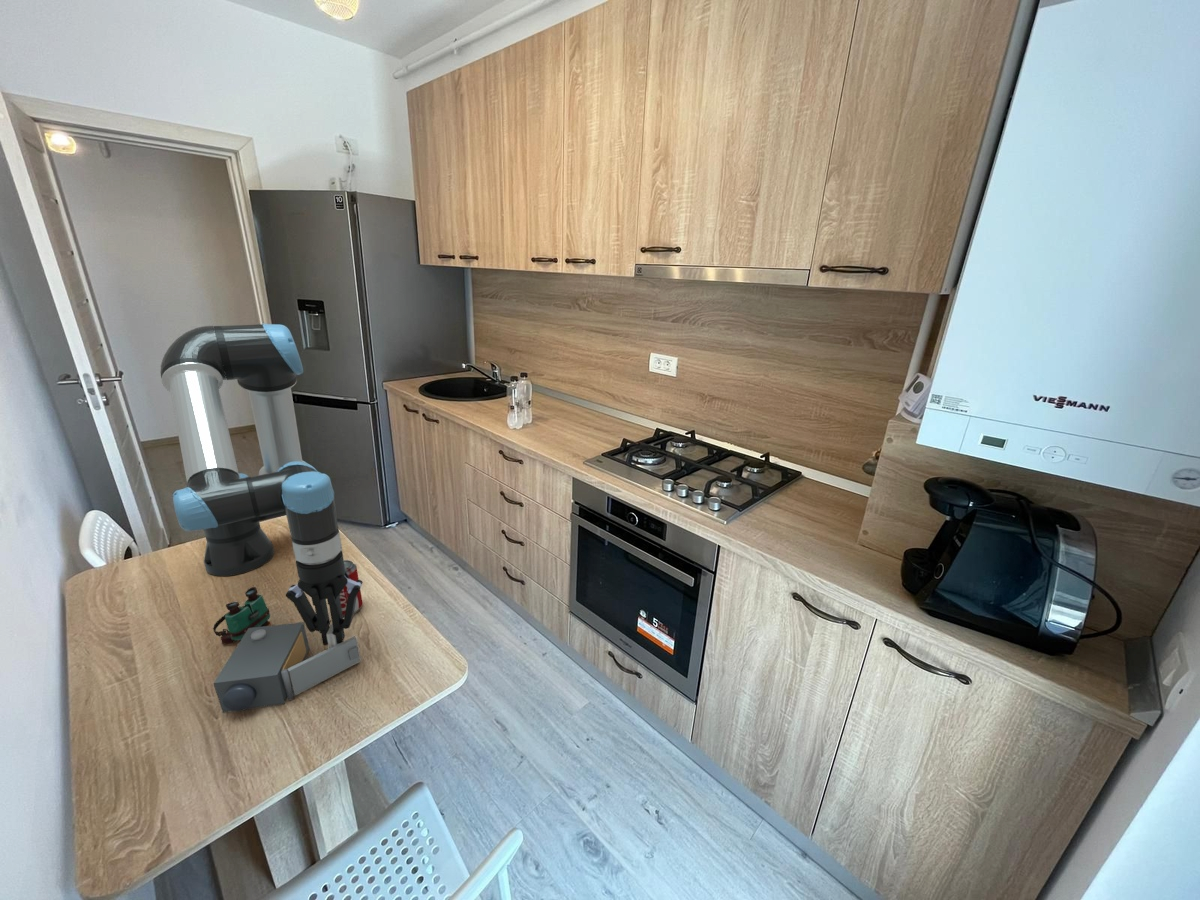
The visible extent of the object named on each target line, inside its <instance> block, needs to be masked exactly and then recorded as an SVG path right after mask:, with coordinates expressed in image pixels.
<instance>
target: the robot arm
mask: <svg viewBox="0 0 1200 900" xmlns="http://www.w3.org/2000/svg"><path fill="white" fill-rule="evenodd" d="M159 372H160V378H161V382H162V386H163V387H164V389H165V390H166V391H168V392H169V393H170V394H171V401H172V407H173V412H174V418H175V423H176V429H177V434H178V441H179V445H180V451H181V456H182V462H183V463H182V464H183V469H184V474H185V478H186V485H187V487H184V488H182V489H178V490H175V491H174V492H173V494H172V502H173V508H174V512H175V516H176V519H177V521H178V524H179V526H180V528H181V529H182V530H183V531H186V532H194V531H195V532H196V531H200V530H203V533H204V537H205V540H206V544H205V545H206V546H205V552H204V557H203V563H204V569H205V570H206V573H208V574H209V575H210V576H211V575H212V576H216V577H228V576H229V577H230V576H236V575H240V574H245V573H247V572H251V571H253V570H255V569H257V568H259V567H262V566H263V565H265V564H266V563H268V562H269V561H270V560H271V559H272V558H273V557H274V555H275V549H274V544H273V542H272V541H271V540H270V538H269V536H267V534H266V533H265V532H264V530H263V529H262V528H261V523H260V522H262V521H266V520H271V519H275V518H280V517H285V516H286V519H287V524H288V528H289V532H290V538H291V539H290V540H291V544H292V549H293V555H294V559H295V565H296V570H297V575H298V576H297V577H298V581H297V584H292V585H291V586H290V587H289V589H288V590H287V592H286V593H285V597H286V598H287V599H288V600H290V602H291V603H292V604H293V605H294V606H295V608H296V610H297V612H298V614H299V615H300V617H301V619H302V620H303V621H302V622H304V625H305V626H306V628H307V630H308V631H309V632H310V633H314V632H319V633H320V635H321V640H322V645H324V646H328V649H329V648H331V647H333V646H335V645H337V644H339V643H341V642H343V641H345V637H346V634H345V629H349V628H350V627H351V624H352V622H353V619H354V615H355V614H354V609H355V603H356V598H357V594H358V592H359V591H360V590H361V587H362V585H363V580H361V579H359V580H357V581H353V580H351V579H349V576H348V574H347V573H346V572H345V566H344V555H343V553H344V552H343V550H342V548H343V547H342V541H341V536H340V535H341V534H340V529H339V525H338V517H337V511H336V510H337V509H336V503H335V491H334V489H333V484H332V482H331V481H332V480H331V477H330V476H329V475H328V474H326V473H322V472H321V471H318V470H317V469H316V468H315V467H314V466H313V465H311V464H309V463H308V462H306V461H304V460H303V456H302V451H301V450H302V449H301V443H300V437H299V431H298V425H297V418H296V413H295V412H296V411H295V406H294V401H293V399H294V398H293V392H292V388H293V387H294V386H295V385H296V384H297V382H298V378H297V376H300V375H301V374H303V373H304V367H303V364H302V359H301V357H300V353H299V351H298V348H297V345H296V343H295V340H294V337H293V335H292V333H291V330H290V329H289V328H288V327H287V326H286V325H284V324H275V323H274V324H273V323H272V324H269V323H268V324H267V323H263V322H262V323H261V324H233V325H230V324H229V325H203V326H199V327H195V328H192V329H190V330H188V331H186V332H184V333H183V334H181V335H180V336H178V337H177V338H176V339H175V340H174V341H173V342H172V343H171V344H170V346H169V347H168V348H167V350H166V352H164V355H163V358H162V359H161V364H160V371H159ZM233 380H237V384H238V386H239V387H240V388H241V389H242V390H245V391H247V392H248V396H249V397H248V398H249V402H250V407H251V410H252V411H251V412H252V416H253V421H254V427H255V429H256V436H257V439H258V443H259V449H260V453H261V458H262V462H263V466H261V468H260V469H259V471H258V474H257V475H253V476H248V475H247V474H245V473H239V468H238V465H237V460H236V456H235V451H234V447H233V444H232V440H231V439H232V438H231V435H230V430H229V427H228V423H227V419H226V417H227V416H226V414H225V408H224V405H223V401H222V398H221V397H222V396H221V392H220V389H221V388H222V386H223V383H224V381H233ZM345 586H347V591H348V593H350V594H349V596H348V599H347V605H346V611H345V616H343V615H342V608H341V602H340V593H341V591H342V590H343V588H344V587H345ZM307 596H308V597H310V598H311V601H312V604H311V602H310V600H309V598H308V597H307ZM328 606H329V609H328ZM313 607H314V608H313ZM329 612H330V615H329ZM330 617H331V619H330Z"/></svg>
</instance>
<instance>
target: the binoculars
mask: <svg viewBox="0 0 1200 900" xmlns="http://www.w3.org/2000/svg"><path fill="white" fill-rule="evenodd" d="M244 595H245V597H247V599H246V600H245V601H244V603H243V604H244V605H241V606H240V603H239V602H238V601H235V602H234V601H233V602H229V603H227V604H226V605H225V607H226V609H227V611H228V612H227V613H225V614H224V615H222V616H220V618H219V619H218V620H217V621H216V622H215V623H214V624H213V628H212V630H213V632H214V634H215V636H218V637H220V641H221V644H223V645H226V644H227V645H228V644H231V643H234V642H237V645H238V644H239V642H240V641H241V639H242V638H243V636H244V634H245V633H246V631H247V630H248V628H254V627H263V626H272V622H271V621H268V620H269V619H270V617H271V612H270V608H269V607H268V606H267V603H266V602H265V599H264V597H263V595H262V594H258V589H257V587H256V586H252V587H250V588H248V589H247V590H246V591H245V592H244ZM223 622H225V623H226V627H227V628H223V629H222V630H221V631H217V628H218V627H219V626H220V625H221V624H222V623H223Z"/></svg>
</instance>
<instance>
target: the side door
mask: <svg viewBox="0 0 1200 900" xmlns="http://www.w3.org/2000/svg"><path fill="white" fill-rule="evenodd" d="M361 661H362V660H361V655H360V650H359V643H358V637H356V635H354V636H351V637H350V638H347V639H346V640H345V639H344V640H343V642H341V643H339V644H337V645H335V646H333V647H331V648H329V647H328V648H327V649H325V650H323V651H320V652H318V653H317V654H314V655H313V656H311V657H308V658H305V660H304V661H302V662H300V663H298V664H296V665H294V666H292V667H290V668H288V670H287V669H283V670H282V671H281V674H282V678H283V682H284V685H285V689H286V693H287V700H288V701H292V700H294V698H295V696H297V695H299V694H301V693H303V692H305V691H307V690H309V689H311V688H313V687H314V686H317V685H319V684H320V683H322V682H324V681H326V680H328V679H329V678H332V677H333V676H335V675H337V674H339V673H341V672H343V671H345V670H347V669H348V668H351V667H352V666H354V665H357V664H358V663H360V662H361ZM288 673H289V674H288ZM289 677H290V678H289ZM290 681H291V682H290ZM291 685H292V686H291Z"/></svg>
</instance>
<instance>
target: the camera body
mask: <svg viewBox="0 0 1200 900" xmlns="http://www.w3.org/2000/svg"><path fill="white" fill-rule="evenodd" d="M271 625H272V624H271ZM307 635H308V634H307V631H306V628H305V623H304V621H300V622H293V623H292V622H291V623H284V624H276V625H275V624H274V625H272V626H263V627H254V628H248V630H247V631H246V633H245V634H244V636H243V638H242V639H241V641H240V642H239V644H238V643H237V646H236V647H235V648H234V650H233V651H232V653H231V654H230V656H229V658H228V659H227V661H226V662H225V664H224V666H223V667H222V669H221V671H220V672H219V674H218V675H217V677H216V678H215V680H214V681H213V686H214V689H215V693H216V696H217V699H218V703H219V706H220V708H221V711H222V714H223V713H224V714H225V713H229V712H239V711H245V710H250V709H252V710H253V709H258V708H264V707H265V708H266V707H272V706H279V705H280V706H281V705H285V704H286V702H287V700H288V697H287V693H286V689H285V685H284V682H283V678H282V674H281V671H282V670H283V669H287V670H288V668H290V667H292V666H294V665H296V664H298V663H300V662H302V661H304V660H306V659H307V658H306V657H307V656H308V653H309V651H310V645H309V641H308V640H309V639H308V636H307ZM288 674H289V673H288ZM289 678H290V677H289ZM290 682H291V681H290ZM291 686H292V685H291Z"/></svg>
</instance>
